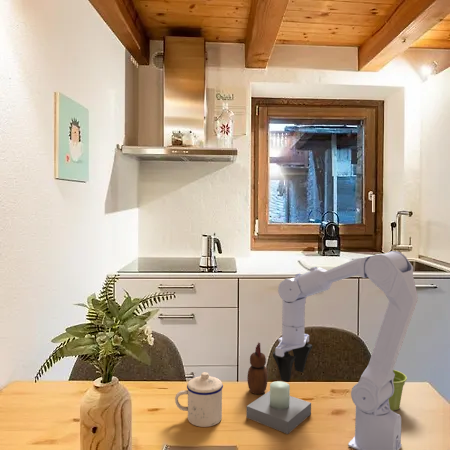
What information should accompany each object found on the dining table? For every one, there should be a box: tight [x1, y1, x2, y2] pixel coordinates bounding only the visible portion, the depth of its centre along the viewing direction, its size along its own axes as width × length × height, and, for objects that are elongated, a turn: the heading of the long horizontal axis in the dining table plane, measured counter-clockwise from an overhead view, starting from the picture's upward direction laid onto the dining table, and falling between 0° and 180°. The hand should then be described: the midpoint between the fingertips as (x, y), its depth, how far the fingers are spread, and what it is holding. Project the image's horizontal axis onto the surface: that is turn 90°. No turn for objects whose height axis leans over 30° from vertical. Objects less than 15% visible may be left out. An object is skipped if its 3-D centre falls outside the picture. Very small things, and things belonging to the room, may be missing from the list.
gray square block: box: [245, 390, 312, 435], centre depth 106 cm, size 12×12×3 cm
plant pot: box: [388, 369, 408, 412], centre depth 112 cm, size 9×9×9 cm
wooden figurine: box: [247, 341, 269, 395], centre depth 119 cm, size 7×6×15 cm
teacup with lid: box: [174, 371, 224, 428], centre depth 104 cm, size 12×9×12 cm
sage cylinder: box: [269, 380, 291, 409], centre depth 106 cm, size 5×5×5 cm
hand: (292, 375), depth 107 cm, fingers open, 7 cm apart
